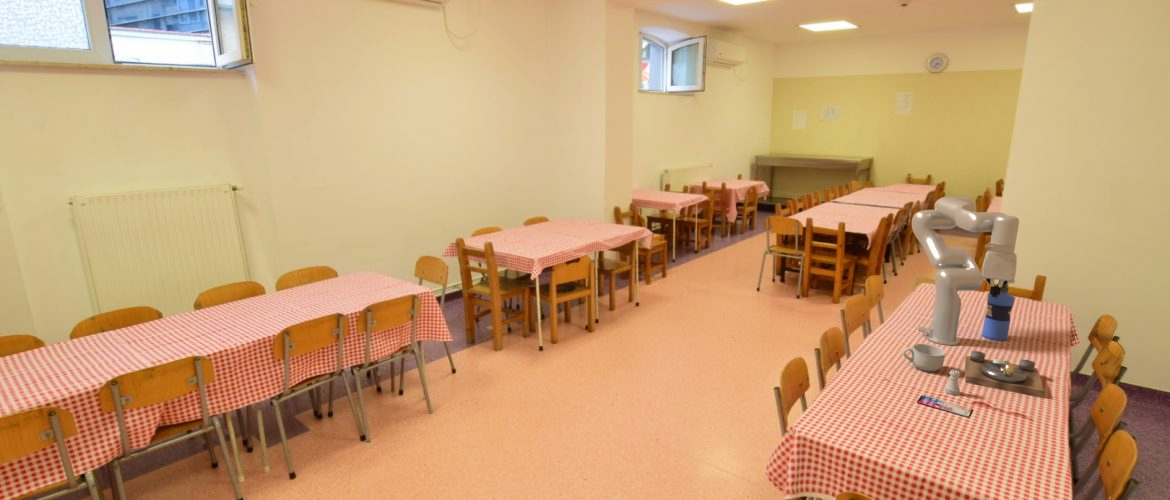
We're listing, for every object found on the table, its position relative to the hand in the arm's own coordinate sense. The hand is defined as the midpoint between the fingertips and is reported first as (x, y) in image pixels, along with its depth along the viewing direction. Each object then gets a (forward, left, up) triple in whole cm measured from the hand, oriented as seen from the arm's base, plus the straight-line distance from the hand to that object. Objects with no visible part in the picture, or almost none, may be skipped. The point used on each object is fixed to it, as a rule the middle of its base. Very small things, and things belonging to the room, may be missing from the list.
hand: (994, 296), depth 215 cm
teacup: (-20, -18, -27) cm, 38 cm away
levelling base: (+5, -13, -27) cm, 30 cm away
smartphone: (-12, -49, -28) cm, 58 cm away
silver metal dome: (+5, -17, -25) cm, 30 cm away
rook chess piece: (-10, -36, -27) cm, 46 cm away
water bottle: (+5, +36, -27) cm, 45 cm away
